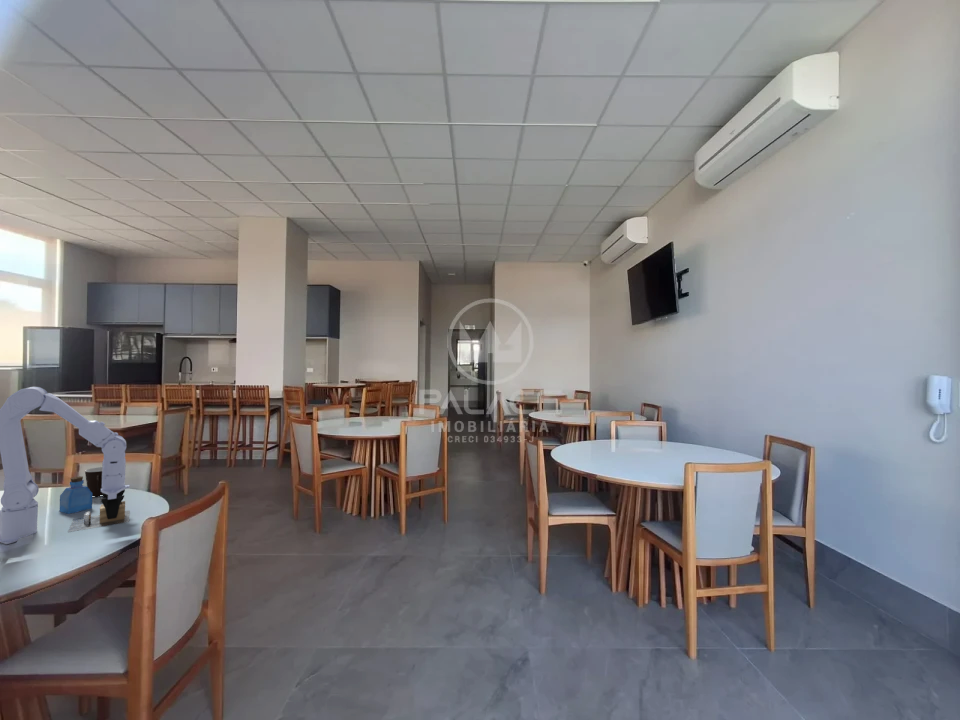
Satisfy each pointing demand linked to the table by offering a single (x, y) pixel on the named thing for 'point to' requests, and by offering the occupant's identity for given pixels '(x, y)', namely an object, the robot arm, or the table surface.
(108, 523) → the hub plate
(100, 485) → the coffee mug
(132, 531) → the table surface
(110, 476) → the robot arm
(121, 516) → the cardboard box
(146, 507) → the table surface
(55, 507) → the table surface
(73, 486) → the perfume bottle
